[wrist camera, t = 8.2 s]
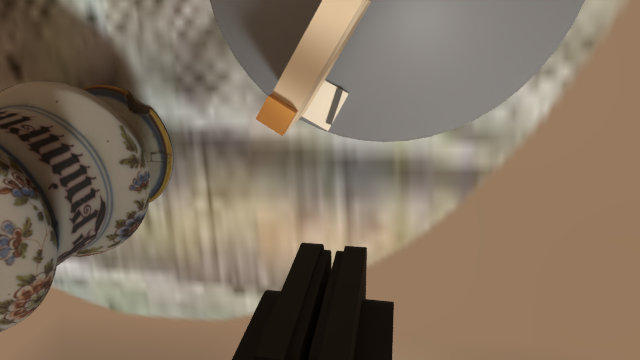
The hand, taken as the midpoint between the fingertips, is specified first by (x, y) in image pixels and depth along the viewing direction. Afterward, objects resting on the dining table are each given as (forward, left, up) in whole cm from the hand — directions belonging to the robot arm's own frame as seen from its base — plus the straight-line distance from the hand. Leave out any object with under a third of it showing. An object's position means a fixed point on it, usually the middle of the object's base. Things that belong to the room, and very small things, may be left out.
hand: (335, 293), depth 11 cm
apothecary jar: (-17, -12, -20) cm, 29 cm away
